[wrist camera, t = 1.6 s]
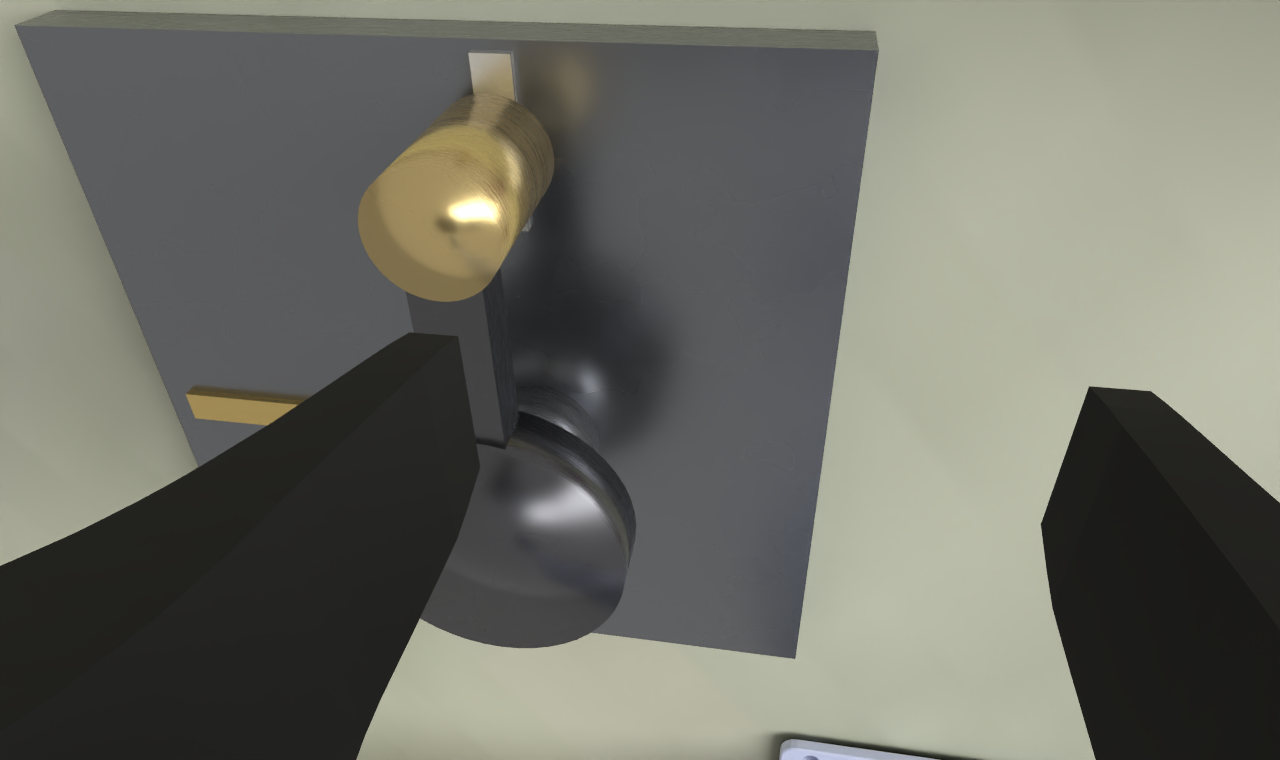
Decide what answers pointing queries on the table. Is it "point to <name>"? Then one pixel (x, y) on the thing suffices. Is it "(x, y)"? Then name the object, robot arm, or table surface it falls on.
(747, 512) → the lever base
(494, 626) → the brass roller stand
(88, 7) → the table surface
